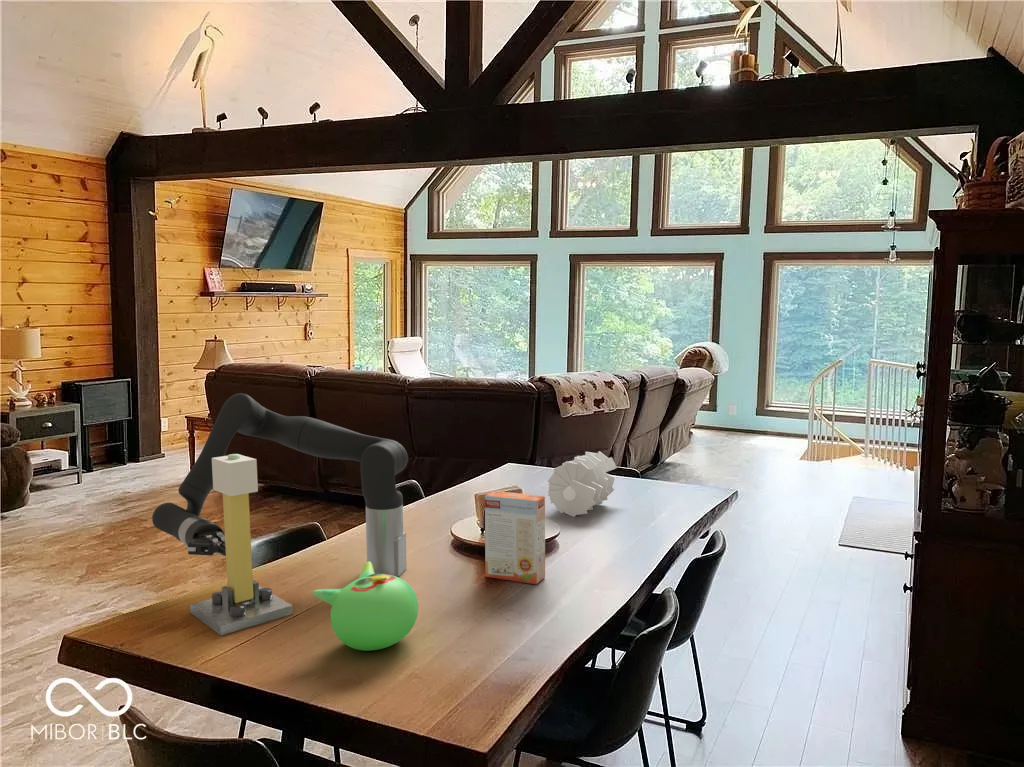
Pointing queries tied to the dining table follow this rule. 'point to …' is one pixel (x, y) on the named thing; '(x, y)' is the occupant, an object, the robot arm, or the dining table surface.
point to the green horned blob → (371, 610)
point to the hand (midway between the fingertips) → (231, 552)
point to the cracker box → (515, 537)
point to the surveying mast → (237, 519)
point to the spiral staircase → (581, 483)
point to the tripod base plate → (240, 623)
